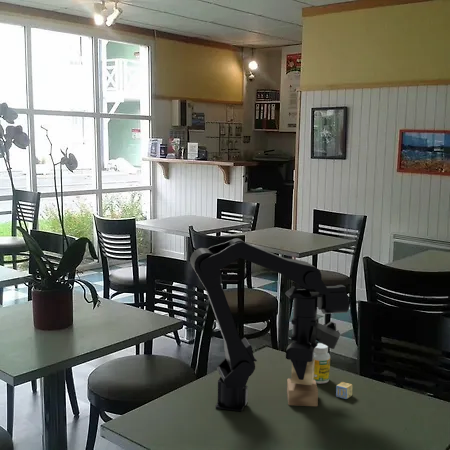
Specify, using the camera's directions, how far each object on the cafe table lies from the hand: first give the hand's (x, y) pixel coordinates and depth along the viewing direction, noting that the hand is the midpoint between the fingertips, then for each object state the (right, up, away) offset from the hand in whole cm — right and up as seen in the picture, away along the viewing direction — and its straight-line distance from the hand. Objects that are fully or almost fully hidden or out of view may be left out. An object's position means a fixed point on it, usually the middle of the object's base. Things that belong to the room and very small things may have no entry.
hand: (302, 375), depth 142 cm
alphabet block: (+11, -6, +3) cm, 13 cm away
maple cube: (0, -1, 0) cm, 1 cm away
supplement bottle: (+6, -5, +13) cm, 15 cm away
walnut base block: (0, -6, +1) cm, 6 cm away
